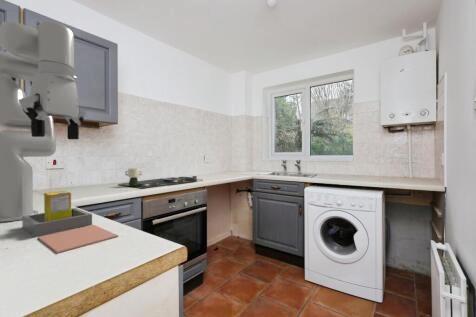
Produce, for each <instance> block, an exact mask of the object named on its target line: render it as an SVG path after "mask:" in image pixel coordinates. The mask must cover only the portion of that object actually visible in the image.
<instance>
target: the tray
mask: <svg viewBox="0 0 476 317" xmlns="http://www.w3.org/2000/svg"><path fill="white" fill-rule="evenodd" d="M21 224H22V228H23V229H24V230H25V231H27V232H28V233H29V234H30V235H32V236H33V237H34V238H38V237H40V236H45V235H49V234H54V233H58V232H63V231H67V230H72V229H77V228H79V227H80V228H81V227H83V226H84V227H86V226H88V225H89V226H90V225H93V214H92V213H90V212H86V211H84V210H82V209H79V208H76V207H73V208H72V207H71V217H69V218H64V219H58V220H53V221H47V222H45V214H44V212H41V213H38V214H33V215H27V216H22V223H21Z"/></svg>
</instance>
